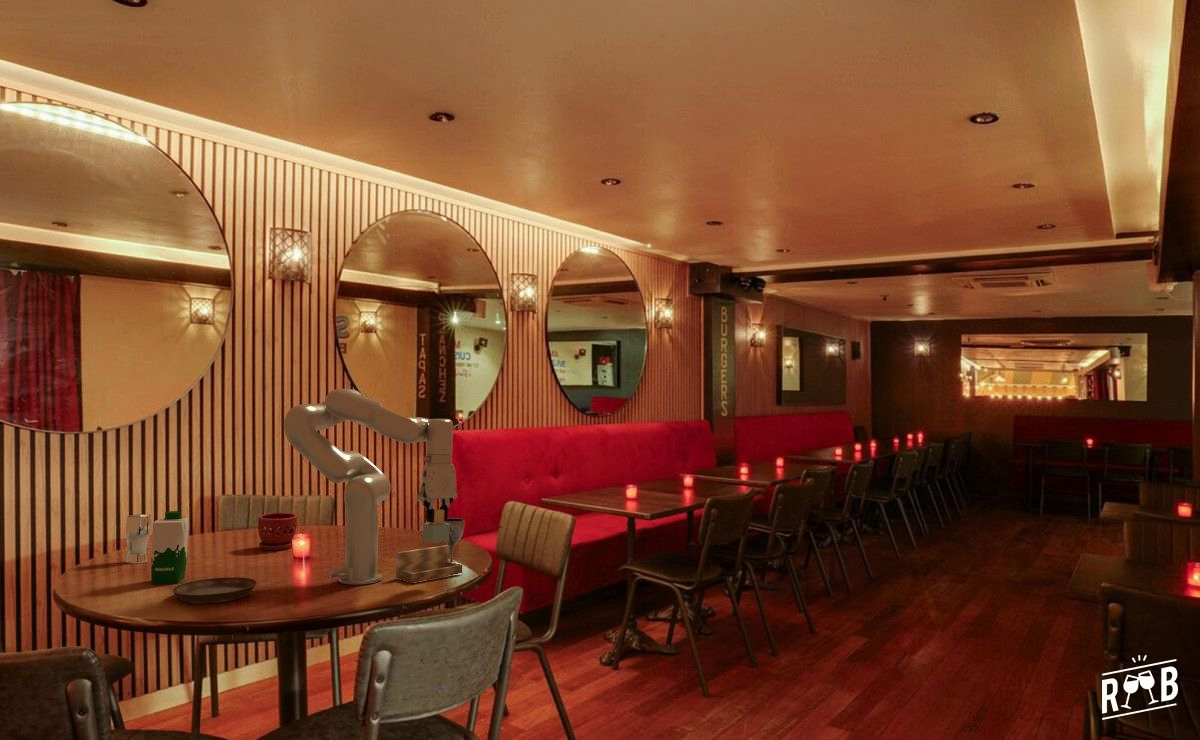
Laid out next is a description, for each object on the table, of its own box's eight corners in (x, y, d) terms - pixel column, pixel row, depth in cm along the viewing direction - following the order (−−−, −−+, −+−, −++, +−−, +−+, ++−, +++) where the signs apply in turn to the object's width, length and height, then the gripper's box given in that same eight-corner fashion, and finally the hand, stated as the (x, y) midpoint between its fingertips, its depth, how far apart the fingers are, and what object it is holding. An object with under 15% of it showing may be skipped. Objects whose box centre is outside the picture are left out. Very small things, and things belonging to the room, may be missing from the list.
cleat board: (412, 584, 223) (413, 557, 223) (396, 578, 229) (396, 552, 229) (462, 574, 236) (462, 549, 236) (445, 570, 242) (446, 545, 243)
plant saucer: (162, 595, 206) (162, 583, 206) (240, 584, 220) (241, 572, 220) (185, 611, 191) (185, 598, 191) (267, 598, 205) (268, 585, 206)
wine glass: (450, 568, 245) (451, 522, 245) (434, 564, 249) (435, 519, 250) (468, 564, 251) (469, 519, 252) (452, 561, 256) (453, 517, 256)
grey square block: (432, 542, 220) (433, 512, 220) (422, 540, 223) (423, 509, 224) (449, 540, 224) (450, 510, 225) (439, 538, 228) (440, 508, 228)
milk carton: (188, 577, 226) (191, 510, 227) (180, 584, 217) (183, 515, 218) (156, 578, 224) (159, 511, 225) (146, 585, 215) (149, 515, 216)
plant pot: (248, 550, 267) (250, 516, 268) (274, 543, 280) (275, 511, 280) (279, 553, 264) (280, 518, 264) (303, 546, 276) (305, 513, 277)
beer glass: (153, 560, 249) (155, 514, 249) (138, 564, 242) (141, 517, 242) (134, 559, 249) (136, 513, 250) (118, 563, 242) (121, 516, 243)
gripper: (422, 461, 216) (419, 525, 216) (469, 459, 228) (467, 520, 228) (407, 460, 222) (405, 522, 221) (454, 458, 234) (452, 517, 233)
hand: (436, 520), depth 224 cm, fingers closed on grey square block, 4 cm apart
